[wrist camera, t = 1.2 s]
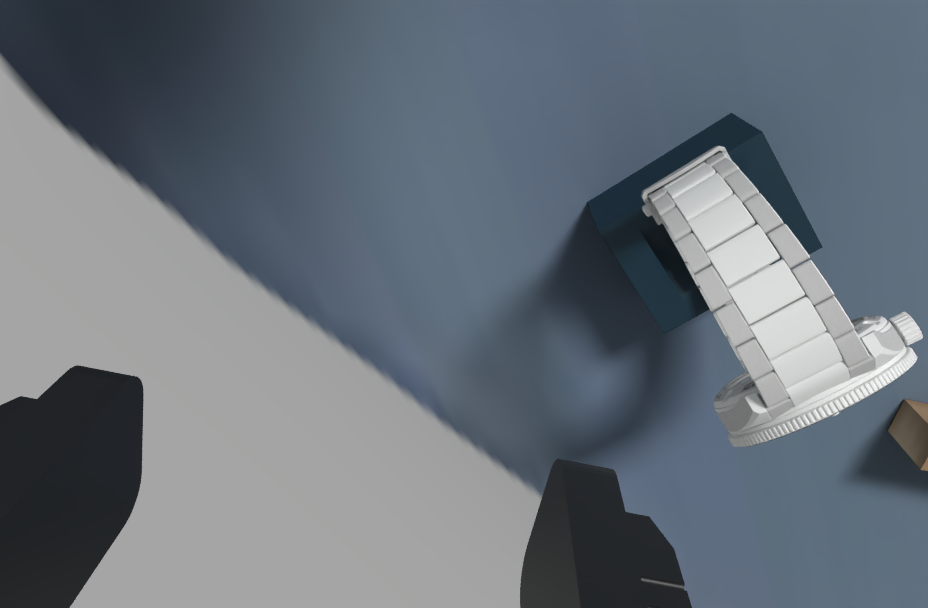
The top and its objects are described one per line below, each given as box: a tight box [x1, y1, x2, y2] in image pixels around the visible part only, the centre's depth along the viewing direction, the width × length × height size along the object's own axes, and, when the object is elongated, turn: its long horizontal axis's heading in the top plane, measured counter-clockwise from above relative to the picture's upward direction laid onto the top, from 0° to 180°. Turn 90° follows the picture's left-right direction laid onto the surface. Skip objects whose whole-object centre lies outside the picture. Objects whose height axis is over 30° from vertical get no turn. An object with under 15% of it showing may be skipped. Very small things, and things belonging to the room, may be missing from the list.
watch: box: [587, 113, 923, 447], centre depth 21 cm, size 6×8×11 cm
